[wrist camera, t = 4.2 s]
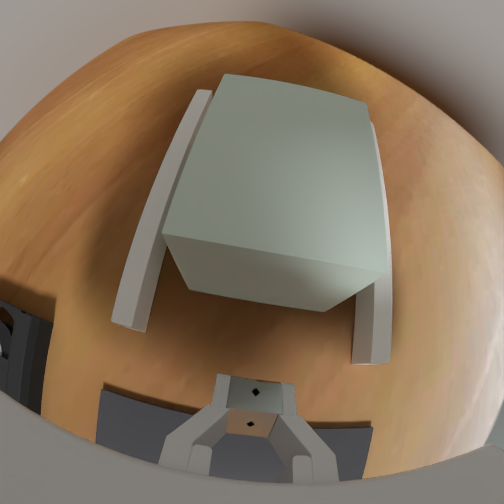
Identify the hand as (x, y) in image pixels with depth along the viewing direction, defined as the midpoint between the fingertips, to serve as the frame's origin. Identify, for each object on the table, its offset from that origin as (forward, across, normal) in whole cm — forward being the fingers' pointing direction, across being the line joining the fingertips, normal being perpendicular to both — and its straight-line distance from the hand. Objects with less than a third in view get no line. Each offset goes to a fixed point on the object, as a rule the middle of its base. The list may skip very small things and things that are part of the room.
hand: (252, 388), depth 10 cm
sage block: (+10, 0, -4) cm, 11 cm away
